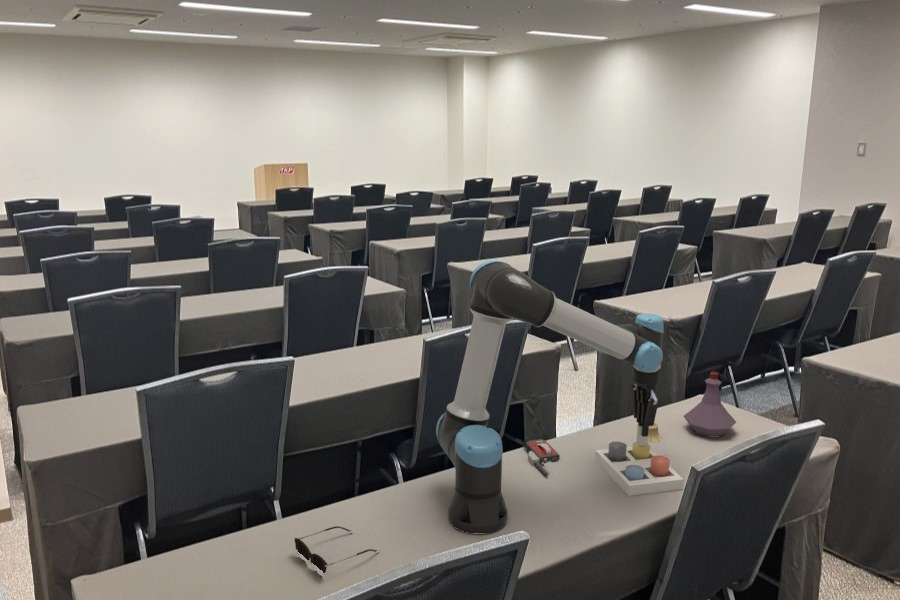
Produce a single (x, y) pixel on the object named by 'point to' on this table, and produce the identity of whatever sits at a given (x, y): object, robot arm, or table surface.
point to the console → (638, 486)
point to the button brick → (659, 466)
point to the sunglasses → (316, 558)
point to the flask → (710, 411)
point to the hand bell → (653, 434)
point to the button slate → (634, 472)
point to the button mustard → (640, 451)
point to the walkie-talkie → (540, 453)
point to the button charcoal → (617, 451)
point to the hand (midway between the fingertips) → (641, 444)
